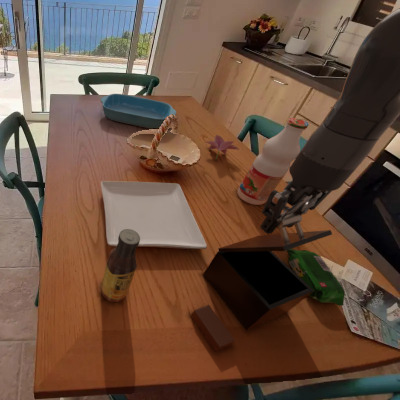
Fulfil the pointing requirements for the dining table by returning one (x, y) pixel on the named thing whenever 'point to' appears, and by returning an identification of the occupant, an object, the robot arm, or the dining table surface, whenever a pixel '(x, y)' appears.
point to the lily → (221, 144)
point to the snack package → (316, 276)
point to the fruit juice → (272, 163)
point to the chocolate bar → (212, 328)
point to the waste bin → (255, 285)
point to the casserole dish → (136, 110)
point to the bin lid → (278, 238)
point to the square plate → (150, 214)
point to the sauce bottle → (120, 266)
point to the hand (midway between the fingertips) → (275, 227)
